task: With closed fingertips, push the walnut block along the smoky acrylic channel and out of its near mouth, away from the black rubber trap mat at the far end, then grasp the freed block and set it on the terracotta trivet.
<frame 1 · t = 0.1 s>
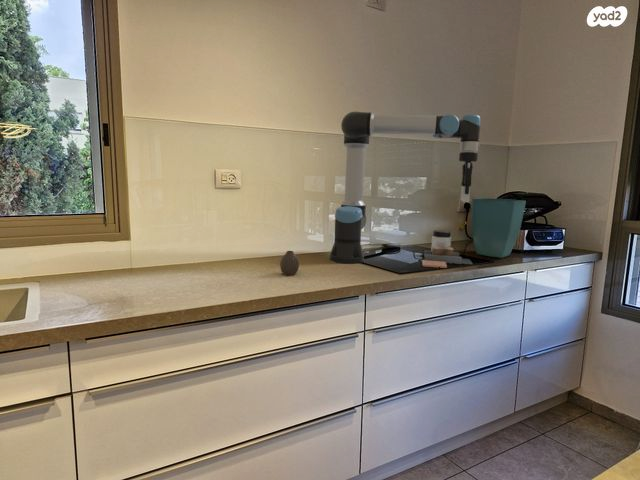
hand: (464, 201, 184), 28 cm above the worktop, fingers open, 13 cm apart
flower pot: (493, 255, 211), on the worktop
trivet: (434, 264, 182), on the worktop
channel: (441, 260, 193), on the worktop
block: (441, 260, 193), on the worktop
vase: (289, 274, 155), on the worktop
jar: (440, 255, 205), on the worktop
trap mat: (465, 261, 191), on the worktop
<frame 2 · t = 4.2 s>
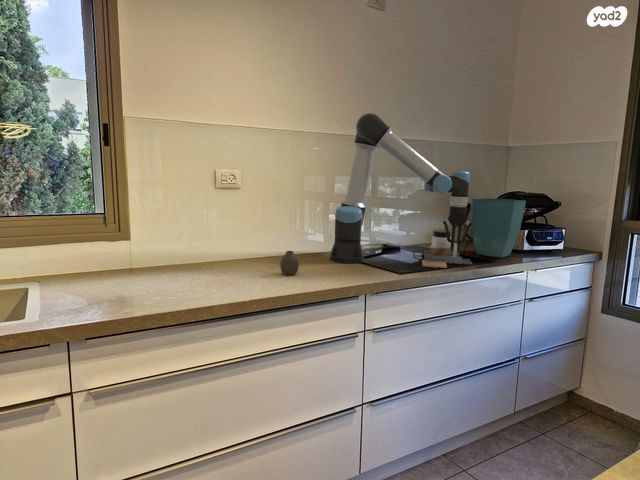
hand: (454, 257, 191), 2 cm above the worktop, fingers closed
block: (439, 260, 193), on the worktop, touching gripper
everything else where it was.
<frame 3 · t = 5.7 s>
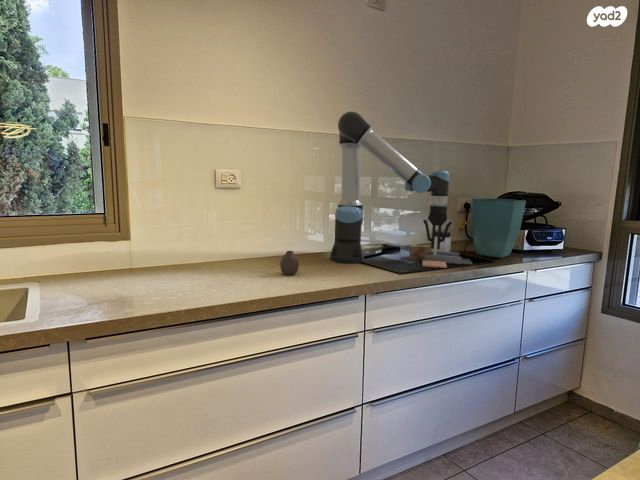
hand: (434, 256, 193), 2 cm above the worktop, fingers closed
block: (419, 258, 195), on the worktop, touching gripper
everything else where it was.
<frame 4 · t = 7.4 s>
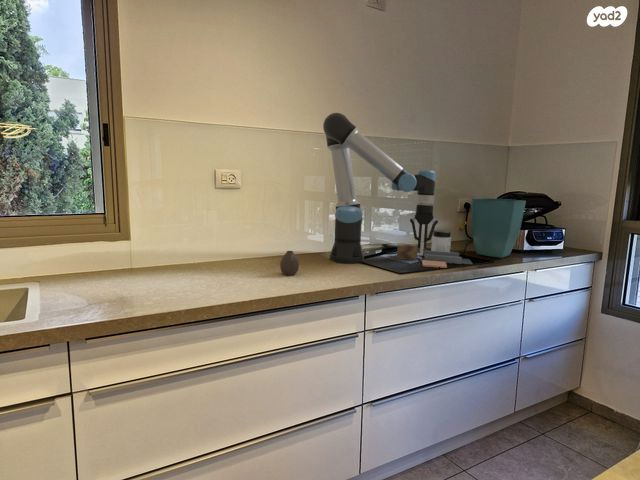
hand: (421, 254, 195), 2 cm above the worktop, fingers closed
block: (406, 257, 196), on the worktop, touching gripper
everything else where it was.
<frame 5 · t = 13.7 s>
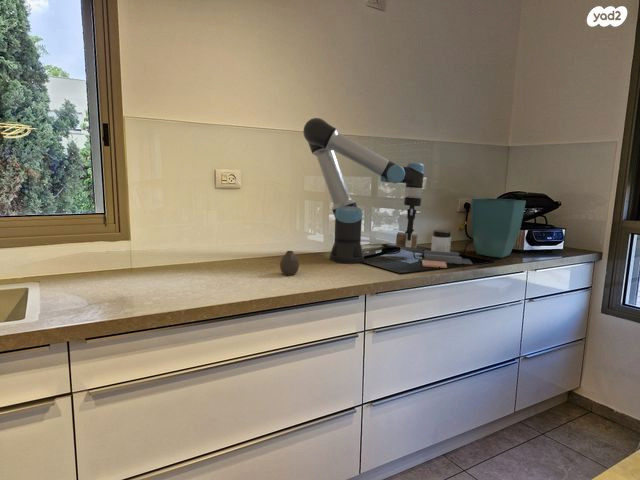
hand: (408, 245, 195), 6 cm above the worktop, fingers closed on block, 7 cm apart
block: (406, 246, 196), point 5 cm above the worktop, touching gripper
everything else where it was.
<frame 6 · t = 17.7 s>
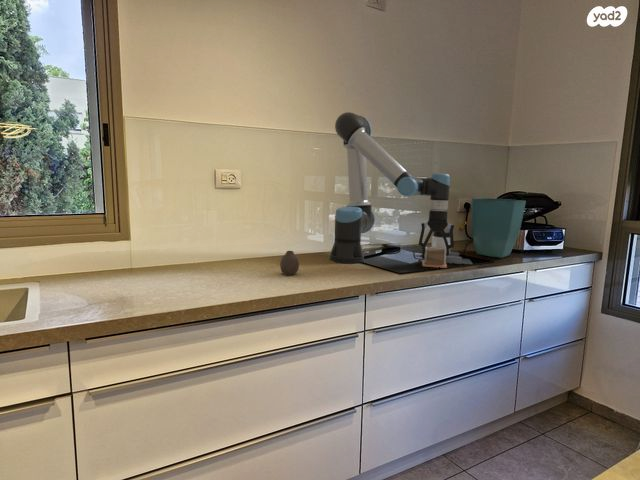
hand: (434, 262, 181), 1 cm above the worktop, fingers closed on block, 7 cm apart
block: (434, 262, 182), point 1 cm above the worktop, touching gripper, trivet
everything else where it was.
when the fingers open (1 cm above the worktop, at t = 17.9 s): block stays where it is, resting on trivet.
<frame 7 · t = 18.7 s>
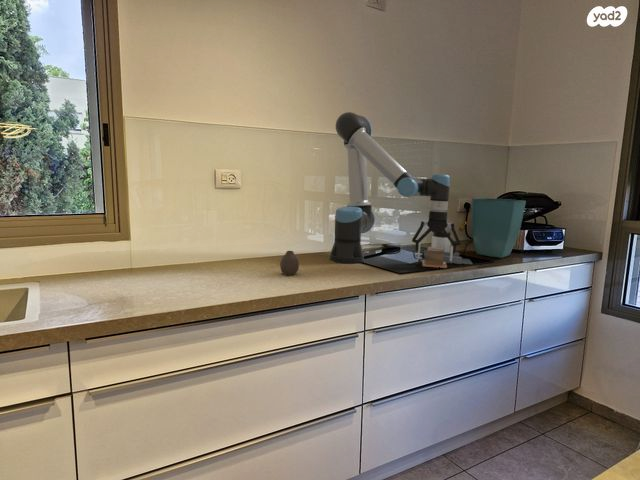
hand: (434, 259, 181), 2 cm above the worktop, fingers open, 13 cm apart
block: (434, 262, 182), point 1 cm above the worktop, touching trivet
everything else where it was.
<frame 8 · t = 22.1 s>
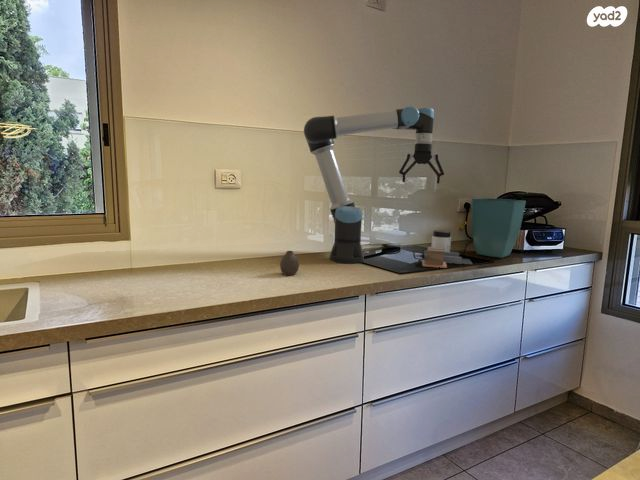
hand: (420, 190, 194), 32 cm above the worktop, fingers open, 13 cm apart
nothing on the worktop moved.
at the end: block inside the target area on the trivet (0.9 cm from its centre), point 0.8 cm above the trivet's base; block tilted 0°; the gripper is holding nothing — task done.
